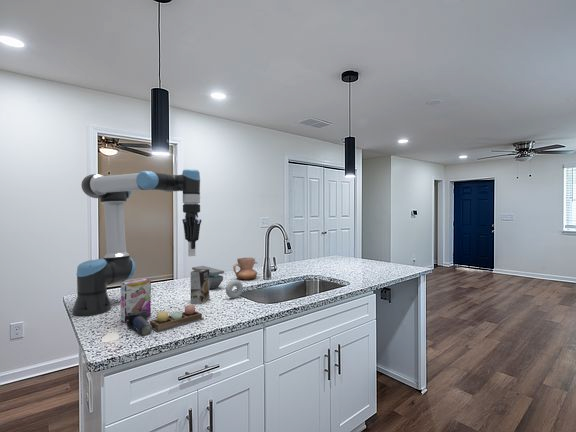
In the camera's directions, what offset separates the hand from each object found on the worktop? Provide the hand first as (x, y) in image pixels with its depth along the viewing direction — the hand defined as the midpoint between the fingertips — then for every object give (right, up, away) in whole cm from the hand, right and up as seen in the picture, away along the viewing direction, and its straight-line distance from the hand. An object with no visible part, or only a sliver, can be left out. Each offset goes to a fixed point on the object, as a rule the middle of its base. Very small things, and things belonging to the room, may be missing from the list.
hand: (191, 255), depth 141 cm
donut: (+15, -26, +26) cm, 40 cm away
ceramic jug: (+14, -26, +74) cm, 79 cm away
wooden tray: (-3, -27, -11) cm, 29 cm away
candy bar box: (-22, -27, -6) cm, 35 cm away
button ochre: (-7, -24, -16) cm, 29 cm away
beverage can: (-14, -27, -19) cm, 36 cm away
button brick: (+1, -24, -7) cm, 25 cm away
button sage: (-3, -25, -11) cm, 28 cm away
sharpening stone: (-6, -26, +52) cm, 58 cm away
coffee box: (-2, -26, +20) cm, 33 cm away
